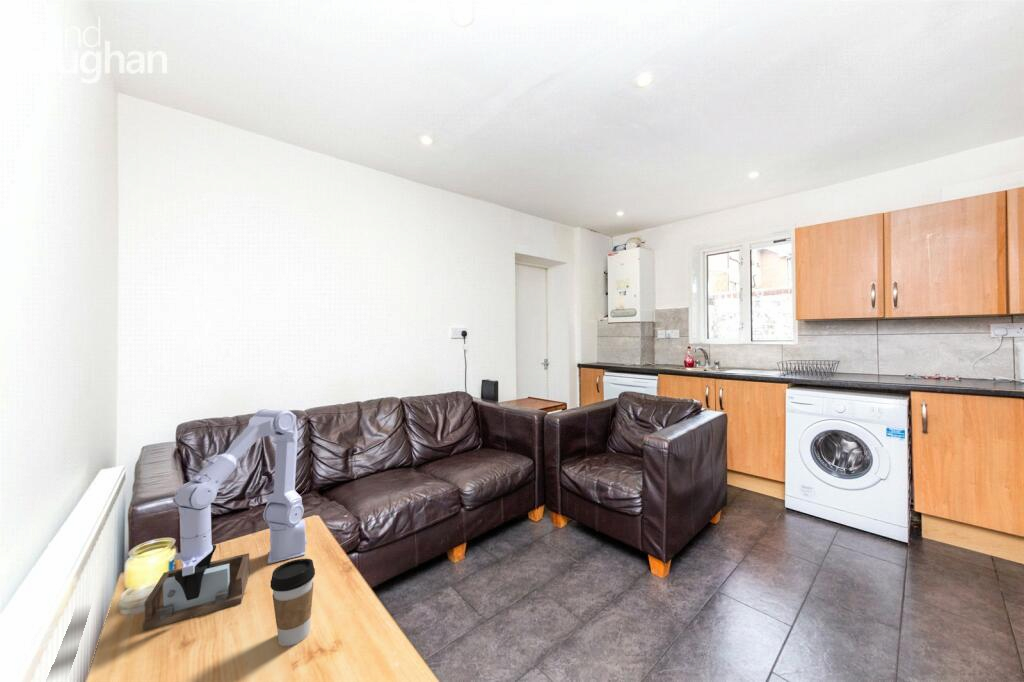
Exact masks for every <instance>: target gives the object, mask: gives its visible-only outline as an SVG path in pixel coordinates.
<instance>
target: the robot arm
mask: <svg viewBox="0 0 1024 682" xmlns="http://www.w3.org/2000/svg"><path fill="white" fill-rule="evenodd" d="M298 432H299V431H298V427H297V415H295V413H293V412H292V411H290V410H289V409H283V410H281V409H280V410H278V409H267V408H266V409H265V408H262V409H259V410H258V411H256V412H255V413H254V415H252V416H251V417H250V418H249V419H248V425H247V426H246V428H244V429H243V430H242V432H241V433H240V434H239V436H238V437H237V438H236V439H235V441H233V443H232V444H231V445H230V446H229V447H228V449H227V450H225V452H224V453H221V454H217V455H215V456H214V457H210V458H209V459H208V463H207V464H206V465H205V466H204V467H203V468H202V469H201V470H200V471H199V472H198V473H197V474H196V475H194V476H193V477H192V479H191V481H188V482H187V483H184V484H181V486H179V488H178V489H177V490H176V492H175V495H174V497H172V503H173V504H174V505H175V507H177V508H178V513H179V535H180V540H179V541H180V552H177V553H176V554H175V555H174V557H173V558H174V559H173V560H174V561H175V560H176V561H177V560H180V563H181V565H182V568H181V569H182V570H180V571H177V572H176V574H175V580H176V581H177V582H178V583H179V584H180V585H181V587H182V589H183V591H184V594H185V597H186V599H187V601H188V600H192V599H195V598H198V597H199V594H200V590H201V583H202V578H203V575H204V572H205V570H206V569H208V568H209V567H210V562H212V558H213V555H214V553H215V551H216V550H217V545H216V544H214V545H213V544H212V543H213V542H212V541H213V540H212V511H211V508H212V505H211V504H212V503H213V502H214V501H215V500H216V498H217V496H218V495H217V494H218V491H219V490H220V487H221V486H222V484H223V483H224V482H225V481H226V479H228V477H229V476H231V474H232V473H233V472H234V471H235V469H236V468H237V466H238V465H237V461H238V460H239V459H240V458H241V457H242V456H243V455H244V454H245V453H246V452H247V451H248V450H249V449H250V448H251V447H252V446H254V444H255V443H256V442H257V441H258V440H259V439H261V438H266V437H269V436H271V437H272V438H273V439H275V440H276V446H275V447H276V449H275V461H274V462H275V463H274V465H275V466H274V480H273V481H274V482H273V493H272V494H271V495H269V496H268V498H267V499H266V506H265V508H264V510H263V514H262V518H263V520H264V522H265V523H267V526H268V527H269V545H270V546H269V549H270V550H269V554H268V559H267V564H269V565H270V564H273V563H277V562H281V561H286V560H290V559H293V558H298V557H301V556H304V555H306V545H307V537H306V519H302V518H303V517H304V513H305V510H304V505H303V498H302V496H301V495H300V494H299V493H298V492H297V491H296V489H295V488H296V473H297V471H296V470H297V455H298V438H299V435H298V434H299V433H298Z"/></svg>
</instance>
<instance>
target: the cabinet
mask: <svg viewBox="0 0 1024 682" xmlns="http://www.w3.org/2000/svg"><path fill="white" fill-rule="evenodd" d="M225 564H229V571H230V593H229V596H228V597H227V590H226V591H223V592H219V593H216V596H215V601H211V602H208V603H204V604H200V605H196V606H193V607H189V608H185V609H182V610H178V611H173V605H169V606H165V607H164V600H163V583H164V582H165V580H166V579H167V578H170V577H174V576H175V574H176V572H177V571H180V570H182V568H178V569H174V570H173V569H172V570H169V571H165V572H163V573H162V574H161V577H160V578H159V579H158V582H156V584H155V586H154V587H153V589H152V590H151V592H150V593H149V595H148V596H147V598H146V600H145V601H144V621H143V623H142V632H144V631H147V630H150V629H155V628H158V627H162V626H165V625H169V624H173V623H176V622H180V621H184V620H188V619H191V618H193V617H198V616H202V615H205V614H209V613H212V612H213V613H214V612H216V611H220V610H222V609H227V608H230V607H233V606H236V605H240V604H242V601H243V598H244V595H245V591H246V588H247V584H248V581H249V577H250V574H251V573H250V570H251V569H250V553H249V552H248V553H244V554H239V555H234V556H230V557H225V558H222V559H217V560H211V562H210V567H209V568H212V567H217V566H221V565H225Z"/></svg>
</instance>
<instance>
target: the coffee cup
mask: <svg viewBox="0 0 1024 682" xmlns="http://www.w3.org/2000/svg"><path fill="white" fill-rule="evenodd" d="M315 575H316V568H315V567H314V561H313V559H312V558H298V559H294V560H293V559H292V560H290V561H286V562H284V563H282V564H280V565H278V566H277V567H276V568H274V569H273V571H272V573H271V579H270V589H271V590H272V602H273V609H274V616H275V624H276V632H277V638H278V639H277V640H278V644H279V645H280V646H282V647H290V646H291V647H292V646H294V645H296V644H299V643H301V642H302V641H304V639H306V638H307V637H308V635H309V634H310V631H311V616H312V607H313V606H312V605H313V604H312V603H313V593H314V577H315Z"/></svg>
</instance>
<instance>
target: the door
mask: <svg viewBox="0 0 1024 682" xmlns="http://www.w3.org/2000/svg"><path fill="white" fill-rule="evenodd" d="M226 590H227V597H228V596H229V593H230V571H229V564H225V565H221V566H217V567H212V568H208V569H206V570H205V572H204V575H203V578H202V583H201V590H200V594H199V597H198V598H195V599H192V600H188V601H187V599H186V597H185V594H184V591H183V589H182V587H181V585H180V584H179V583H178V582H177V581H176V580H175V576H174V577H170V578H167V579H166V580H165V582H164V583H163V600H164V607H165V606H169V605H173V611H178V610H182V609H185V608H189V607H193V606H196V605H200V604H204V603H208V602H211V601H215V596H216V593H219V592H223V591H226Z"/></svg>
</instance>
